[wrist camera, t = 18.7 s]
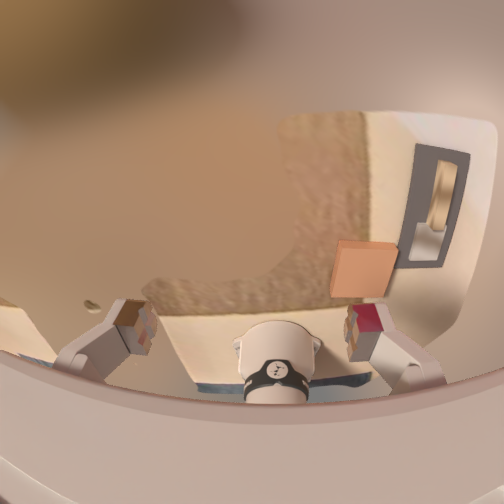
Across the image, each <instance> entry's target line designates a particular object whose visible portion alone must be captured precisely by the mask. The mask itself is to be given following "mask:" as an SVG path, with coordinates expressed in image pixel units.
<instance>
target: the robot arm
mask: <svg viewBox="0 0 504 504" xmlns="http://www.w3.org/2000/svg"><path fill="white" fill-rule="evenodd" d="M152 308H153V307H152V305H151V302H149V301H144V300H134V299H122V298H118V299H117V300H116V301H115V303H114V304H113V306H112V308H111V309H110V311H109V313H108V315H107V316H106V318H105V320H104V322H103V324H102V323H100V324H98V325H97V326H95V327H93V328H92V329H90V330H89V331H88V332H86V333H84V334H83V335H82V336H80V337H78V338H77V339H75V340H74V341H72V342H71V343H69V344H68V345H66V346H65V347H64V348H62V350H61V352H60V353H59V355H58V357H57V358H56V360H55V362H54V364H53V366H52V368H49V367H46V366H43V365H40V364H38V363H35V362H32V361H29V360H27V359H24V358H22V357H19V356H17V355H14V354H12V353H9V352H7V351H4V350H0V504H504V367H503V368H500V369H497V370H495V371H492V372H488V373H485V374H482V375H479V376H476V377H472V378H469V379H465V380H462V381H458V382H454V383H450V384H447V382H446V379H445V377H444V374H443V371H442V369H441V366H440V363H439V361H438V360H437V359H436V358H434V357H433V356H432V355H431V354H429V353H428V352H427V351H426V350H424V349H423V348H422V347H421V346H419V345H418V344H417V343H415V342H414V341H413V340H412V339H410V338H409V337H408V336H407V335H405V334H404V333H403V332H402V331H400V330H396V327H395V325H394V322H393V319H392V317H391V314H390V312H389V309H388V307H387V305H386V303H385V302H374V303H356V304H350V305H349V306H348V310H347V312H348V317H347V318H346V319H345V323H344V338H345V341H346V342H347V343H348V347H347V353H348V358H349V362H361V361H369V363H370V364H371V365H372V366H373V367H374V368H375V370H376V371H377V372H378V373H379V374H380V375H381V376H382V377H383V379H385V381H386V382H387V383H388V384H389V385H390V387H391V388H392V389H393V390H392V391H391V393H390V394H389V396H384V397H377V398H369V399H360V400H350V401H339V402H324V403H307V400H308V393H309V387H308V382H310V381H311V376H313V374H314V372H315V366H314V357H315V356H316V354H317V352H318V350H319V348H320V346H321V341H320V340H319V339H317V338H315V337H313V336H311V335H310V334H309V333H308V332H307V331H306V330H305V329H304V328H302V327H301V326H299V325H297V324H294V323H291V322H286V321H269V322H264V323H261V324H258V325H256V326H254V327H252V328H251V329H249V330H248V331H247V332H246V333H245V334H244V335H243V336H241V337H238V338H236V339H234V340H233V347H234V350H235V352H236V354H237V356H238V358H239V373H240V374H241V376H242V378H243V379H244V380H245V386H244V400H245V401H246V403H234V402H219V401H208V400H198V399H189V398H181V397H174V396H167V395H160V394H154V393H148V392H143V391H137V390H132V389H127V388H122V387H118V386H113V385H109V384H107V383H106V382H105V381H104V379H105V378H106V377H107V376H108V375H109V374H110V373H111V372H112V371H113V370H115V369H116V368H117V367H118V366H119V365H120V364H121V363H122V362H123V361H124V360H125V359H126V358H127V357H129V356H130V354H136V355H145V356H147V355H148V353H149V350H150V348H151V345H152V343H151V341H150V339H152V338H153V337H154V336H155V334H156V332H157V319H156V316H155V315H154V314H153V313H152V312H151V310H152Z"/></svg>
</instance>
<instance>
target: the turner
mask: <svg viewBox="0 0 504 504" xmlns="http://www.w3.org/2000/svg"><path fill="white" fill-rule="evenodd" d="M457 167H458V166H457V165H455V164H453V163H452V162H450V161H444V160H438V165H437V171H436V177H435V183H434V188H433V194H432V199H431V203H430V208H429V213H428V217H427V221H426V223H417V227H416V231H415V235H414V239H413V243H412V247H411V251H410V254H409V260H410V261H427V260H437V258H438V255H439V252H440V249H441V246H442V242H443V239H444V235H445V232H446V228H447V225H446V224H445V223H446V219H447V215H448V211H449V207H450V202H451V198H452V193H453V188H454V183H455V178H456V173H457Z"/></svg>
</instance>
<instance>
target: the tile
mask: <svg viewBox="0 0 504 504" xmlns="http://www.w3.org/2000/svg"><path fill="white" fill-rule="evenodd" d="M398 251H399V250H398V249H397V247H396V246H395V244H394V243H385V242H366V241H346V240H339V243H338V248H337V254H336V259H335V264H334V269H333V274H332V278H331V283H330V288H329V289H330V293H331V297H383V296H384V293H385V291H386V288H387V285H388V282H389V279H390V276H391V273H392V270H393V267H394V264H395V261H396V258H397V254H398Z"/></svg>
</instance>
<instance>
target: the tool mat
mask: <svg viewBox="0 0 504 504" xmlns="http://www.w3.org/2000/svg"><path fill="white" fill-rule="evenodd" d="M470 155H471V154H469V153H464V152H460V151H455V150H450V149H445V148H440V147H434V146H428V145H422V144H416V146H415V155H414V163H413V170H412V177H411V183H410V189H409V195H408V201H407V206H406V211H405V216H404V221H403V225H402V230H401V234H400V239H399V243H398V247H397V249H398V250H399V251H398V254H397V258H396V261H395V264H394V267H393V268H433V267H442V265H443V262H444V260H445V257H446V254H447V251H448V247H449V244H450V241H451V238H452V235H453V231H454V228H455V224H456V221H457V217H458V213H459V209H460V205H461V201H462V197H463V192H464V187H465V183H466V178H467V172H468V167H469V161H470ZM438 160H444V161H450V162H452V163H453V164H455V165H457V166H458V167H457V173H456V178H455V183H454V188H453V193H452V198H451V202H450V207H449V211H448V215H447V219H446V223H445V224H446V225H447V228H446V232H445V235H444V239H443V242H442V246H441V249H440V252H439V255H438V258H437V260H427V261H410V260H409V254H410V251H411V247H412V243H413V239H414V235H415V231H416V227H417V223H426V221H427V217H428V213H429V208H430V203H431V199H432V194H433V188H434V183H435V177H436V171H437V165H438Z"/></svg>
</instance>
